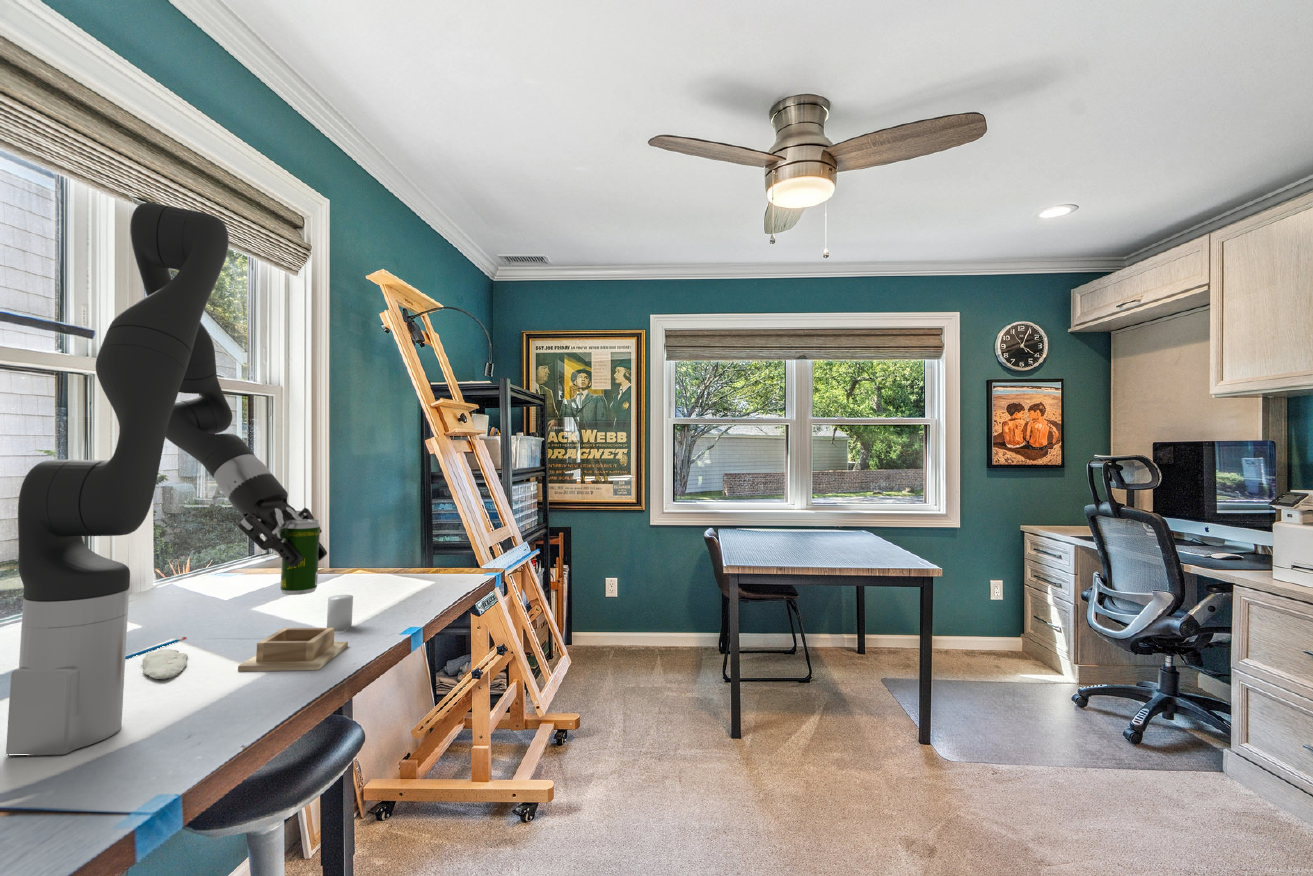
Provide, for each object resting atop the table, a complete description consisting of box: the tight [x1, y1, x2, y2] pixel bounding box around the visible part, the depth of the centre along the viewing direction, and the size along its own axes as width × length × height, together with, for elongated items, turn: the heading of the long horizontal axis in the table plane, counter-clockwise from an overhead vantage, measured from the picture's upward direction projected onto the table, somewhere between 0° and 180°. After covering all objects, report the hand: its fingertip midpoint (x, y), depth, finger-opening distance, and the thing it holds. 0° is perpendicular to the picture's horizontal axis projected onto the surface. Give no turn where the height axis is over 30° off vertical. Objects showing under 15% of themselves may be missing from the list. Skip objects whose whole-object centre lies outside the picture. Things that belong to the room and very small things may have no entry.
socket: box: [237, 627, 349, 672], centre depth 101 cm, size 12×12×4 cm
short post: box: [326, 594, 354, 632], centre depth 119 cm, size 4×4×6 cm
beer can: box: [280, 518, 321, 596], centre depth 101 cm, size 5×5×12 cm
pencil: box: [125, 636, 187, 660], centre depth 101 cm, size 1×17×1 cm, turn 174°
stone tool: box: [141, 648, 189, 680], centre depth 95 cm, size 6×2×15 cm
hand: (310, 560), depth 101 cm, fingers closed on beer can, 5 cm apart
